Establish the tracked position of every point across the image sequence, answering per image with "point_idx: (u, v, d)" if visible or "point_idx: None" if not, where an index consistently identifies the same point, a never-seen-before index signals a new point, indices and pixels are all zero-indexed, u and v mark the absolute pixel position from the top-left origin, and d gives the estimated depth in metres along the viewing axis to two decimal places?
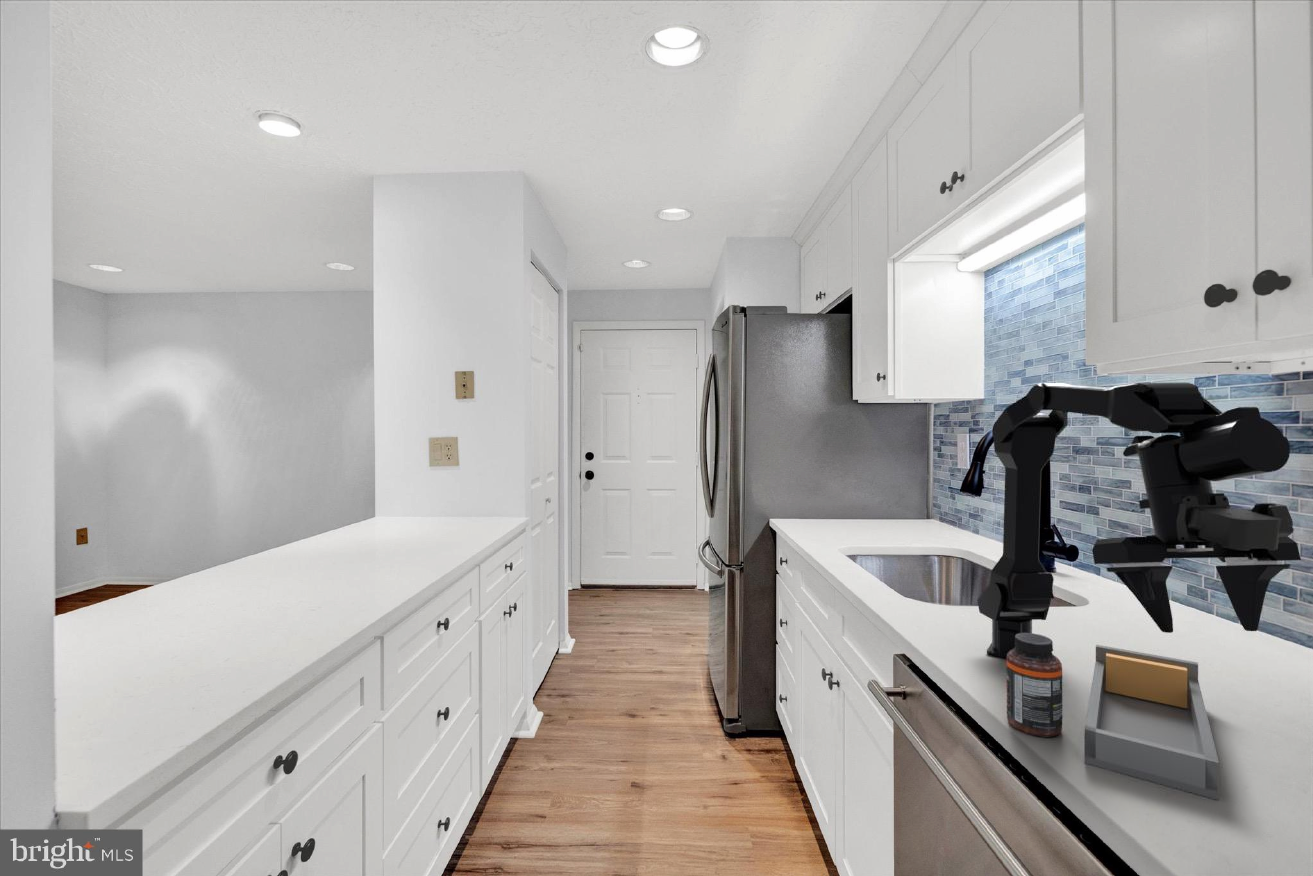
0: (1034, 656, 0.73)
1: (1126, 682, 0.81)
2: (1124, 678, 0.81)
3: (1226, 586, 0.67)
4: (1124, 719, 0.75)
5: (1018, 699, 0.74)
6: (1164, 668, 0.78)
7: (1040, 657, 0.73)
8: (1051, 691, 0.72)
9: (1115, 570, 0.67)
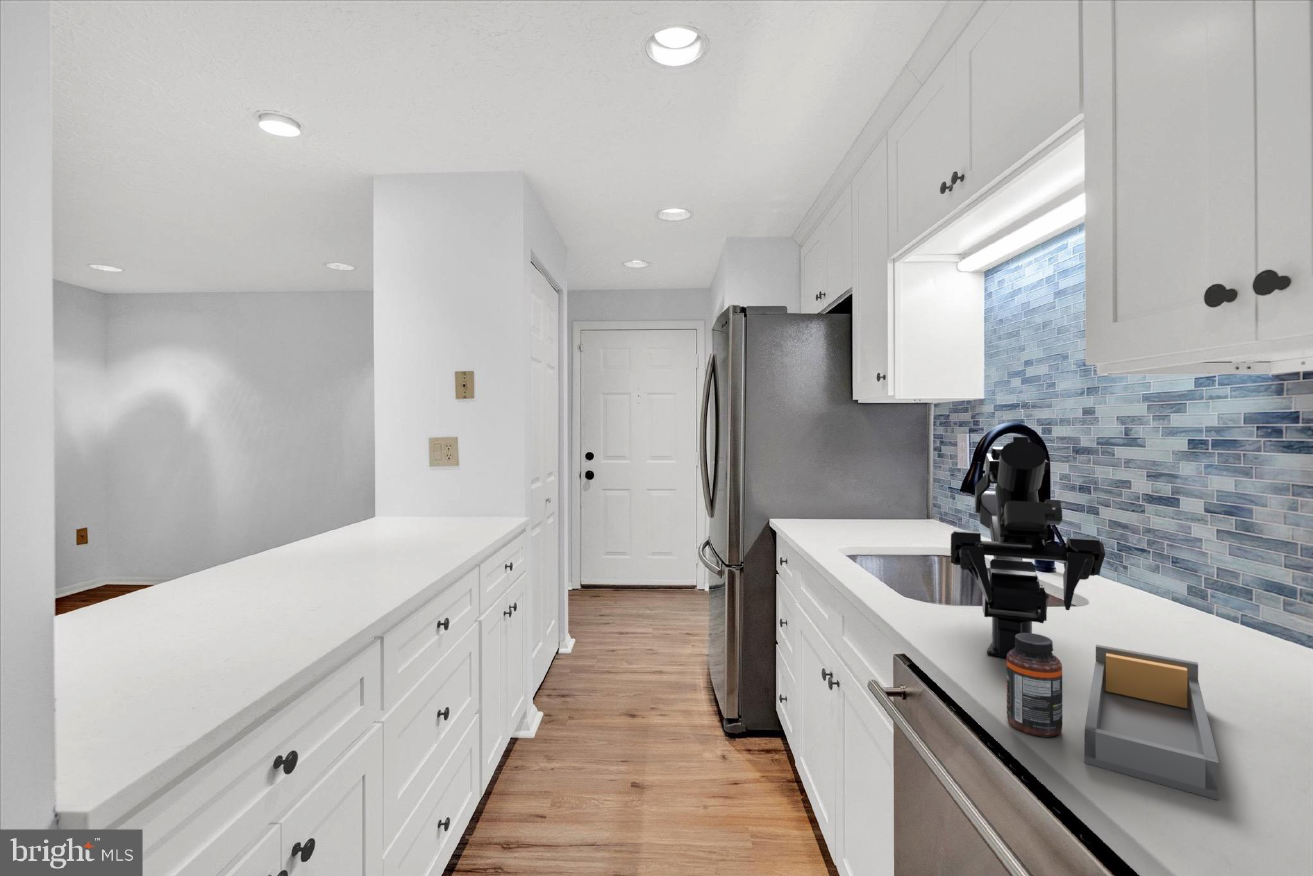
0: (1034, 656, 0.73)
1: (1126, 682, 0.81)
2: (1124, 678, 0.81)
3: (1063, 585, 0.84)
4: (1124, 719, 0.75)
5: (1018, 699, 0.74)
6: (1164, 668, 0.78)
7: (1040, 657, 0.73)
8: (1051, 691, 0.72)
9: (960, 563, 0.90)
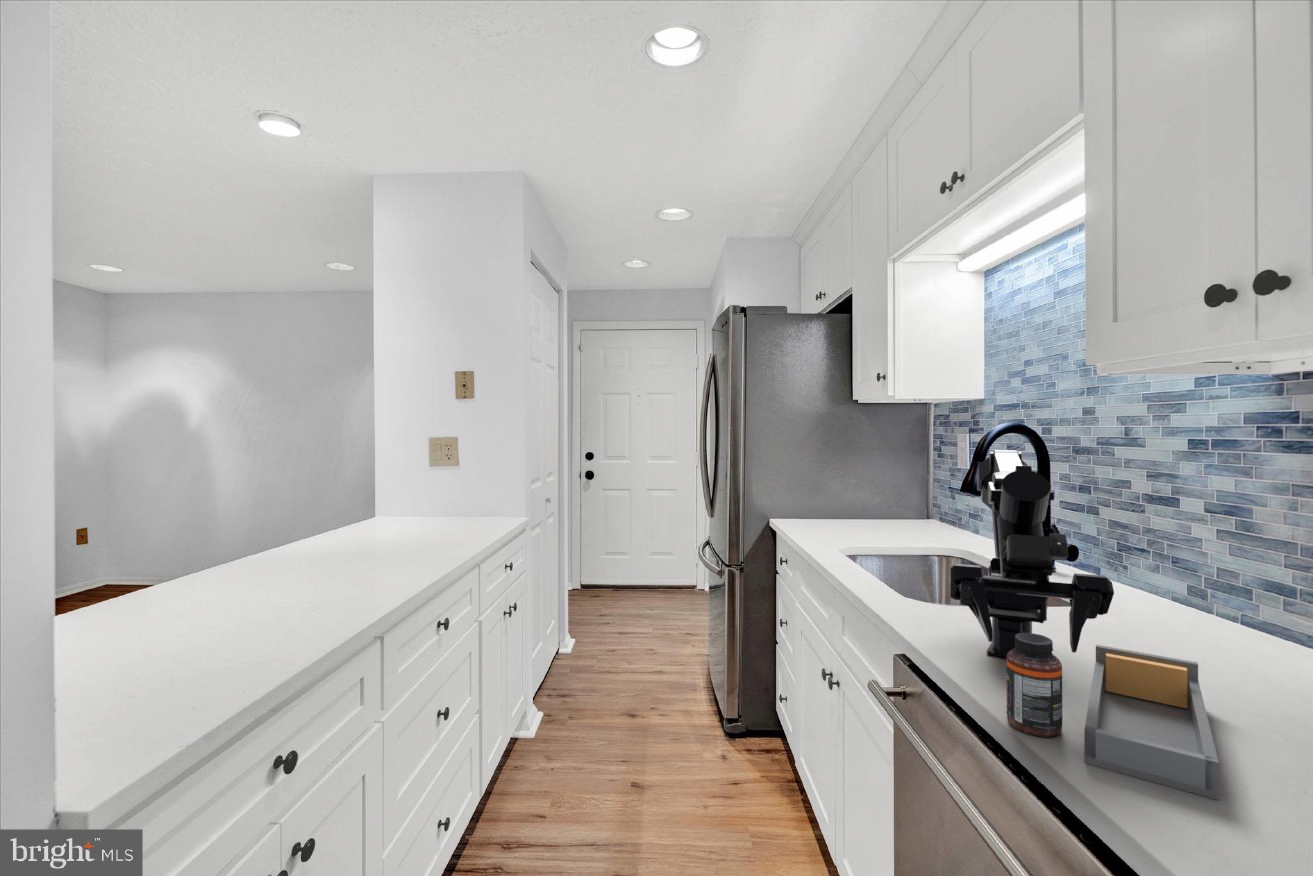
0: (1034, 656, 0.73)
1: (1126, 682, 0.81)
2: (1124, 678, 0.81)
3: None
4: (1124, 719, 0.75)
5: (1018, 699, 0.74)
6: (1164, 668, 0.78)
7: (1040, 657, 0.73)
8: (1051, 691, 0.72)
9: (960, 598, 0.85)
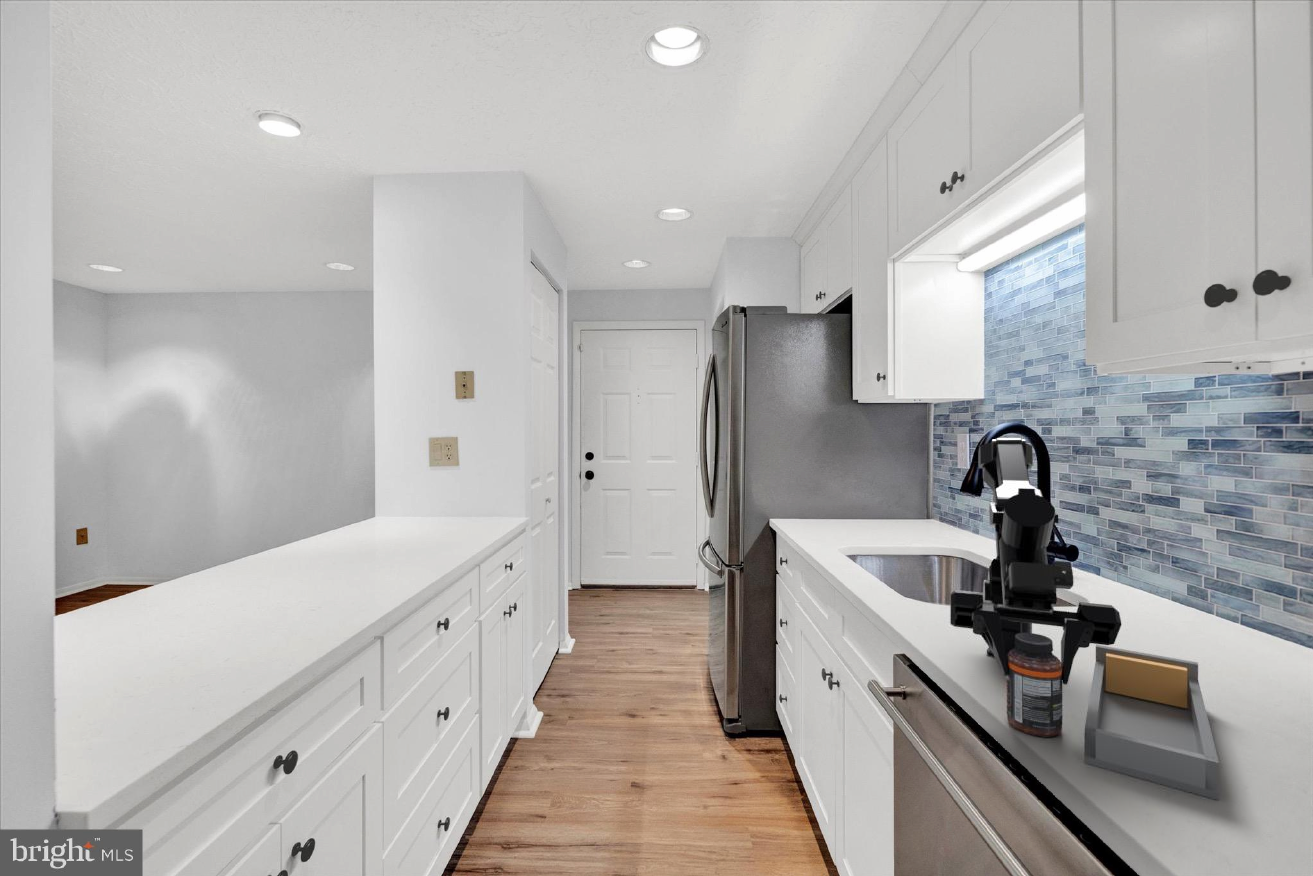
0: (1034, 656, 0.73)
1: (1126, 682, 0.81)
2: (1124, 678, 0.81)
3: (1061, 654, 0.76)
4: (1124, 719, 0.75)
5: (1018, 699, 0.74)
6: (1164, 668, 0.78)
7: (1040, 657, 0.73)
8: (1051, 691, 0.72)
9: (973, 627, 0.81)
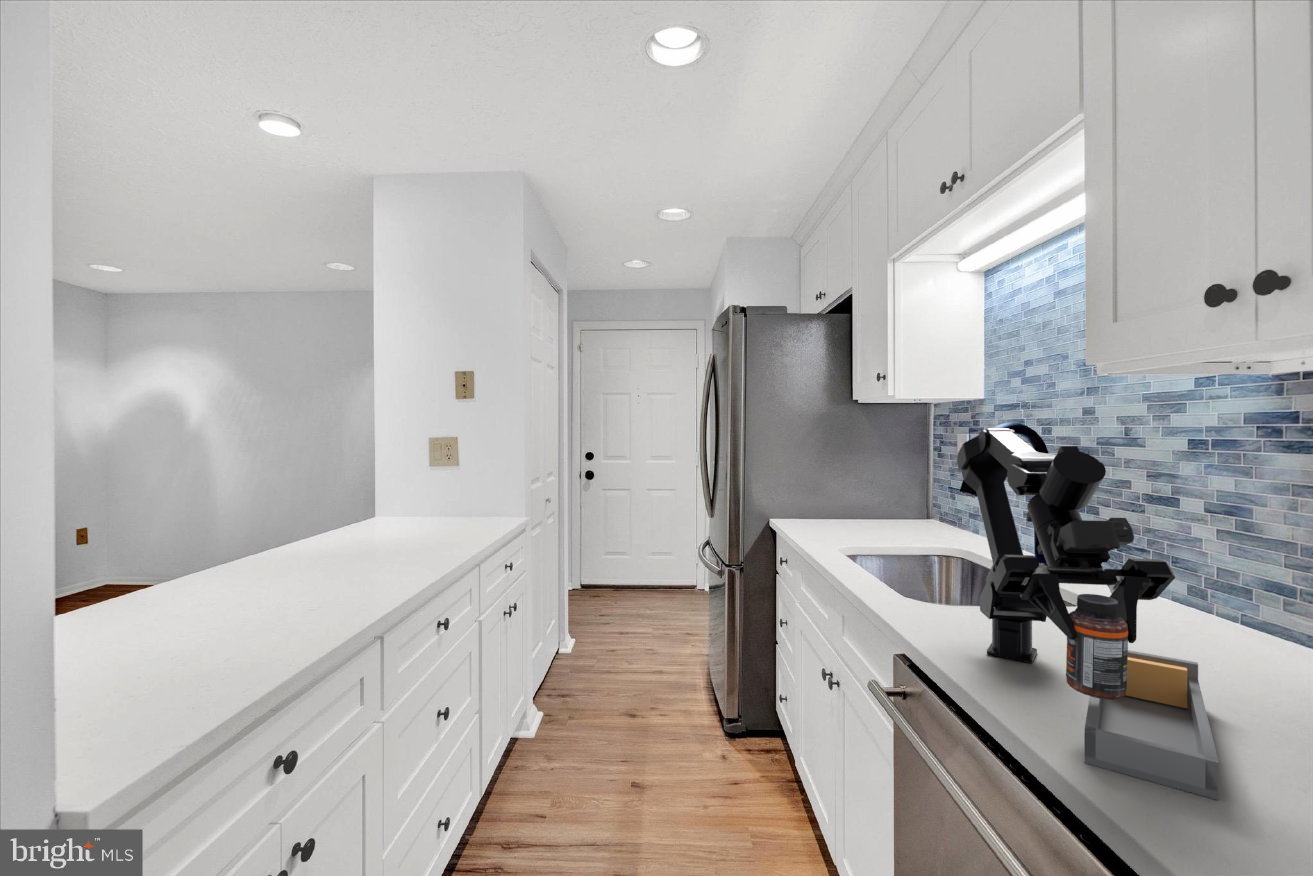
0: (1104, 617, 0.70)
1: None
2: None
3: None
4: (1124, 719, 0.75)
5: (1088, 663, 0.70)
6: (1164, 668, 0.78)
7: (1110, 617, 0.70)
8: (1122, 651, 0.69)
9: (1023, 592, 0.78)
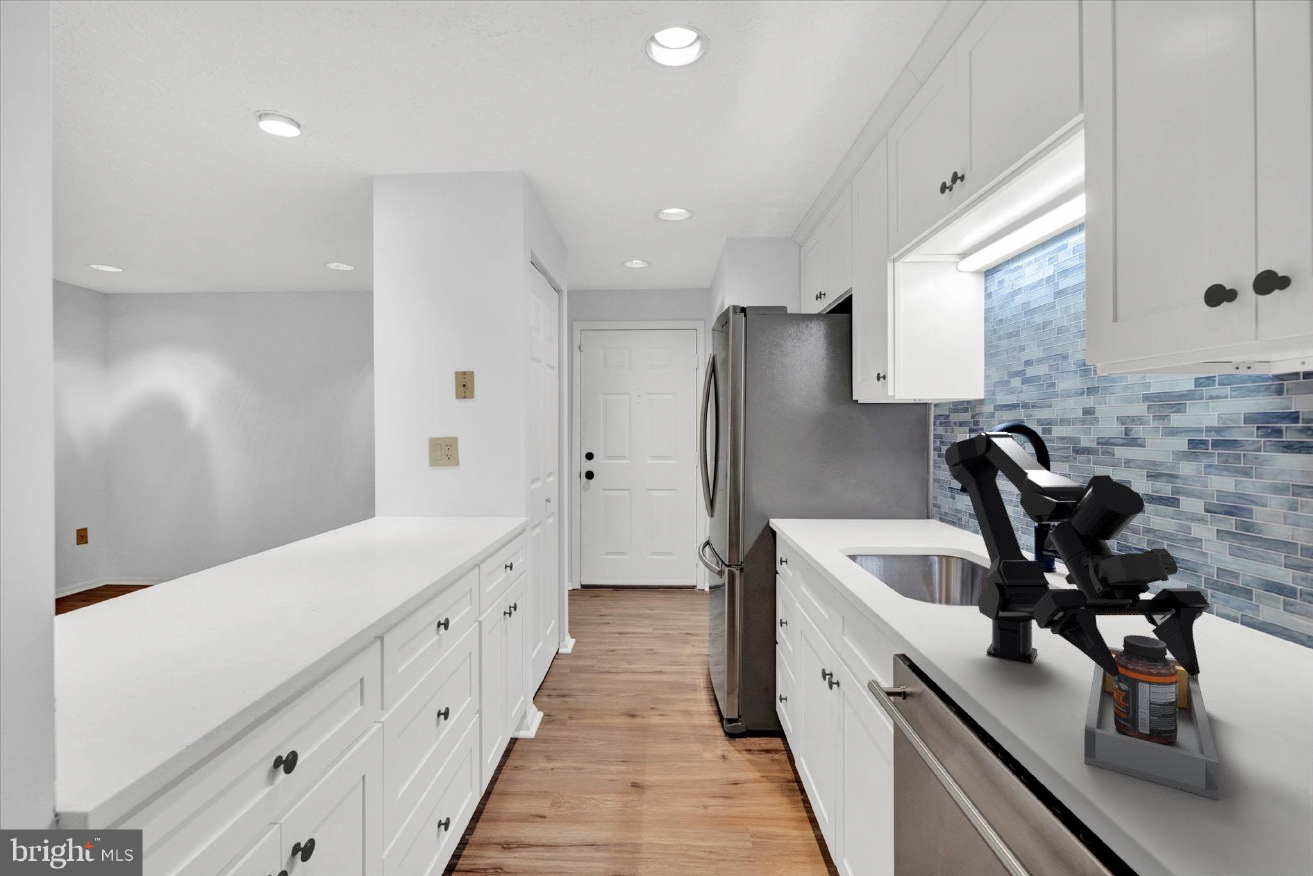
0: (1157, 660, 0.69)
1: None
2: None
3: None
4: None
5: (1144, 709, 0.69)
6: None
7: (1162, 661, 0.69)
8: (1175, 695, 0.69)
9: (1055, 627, 0.75)
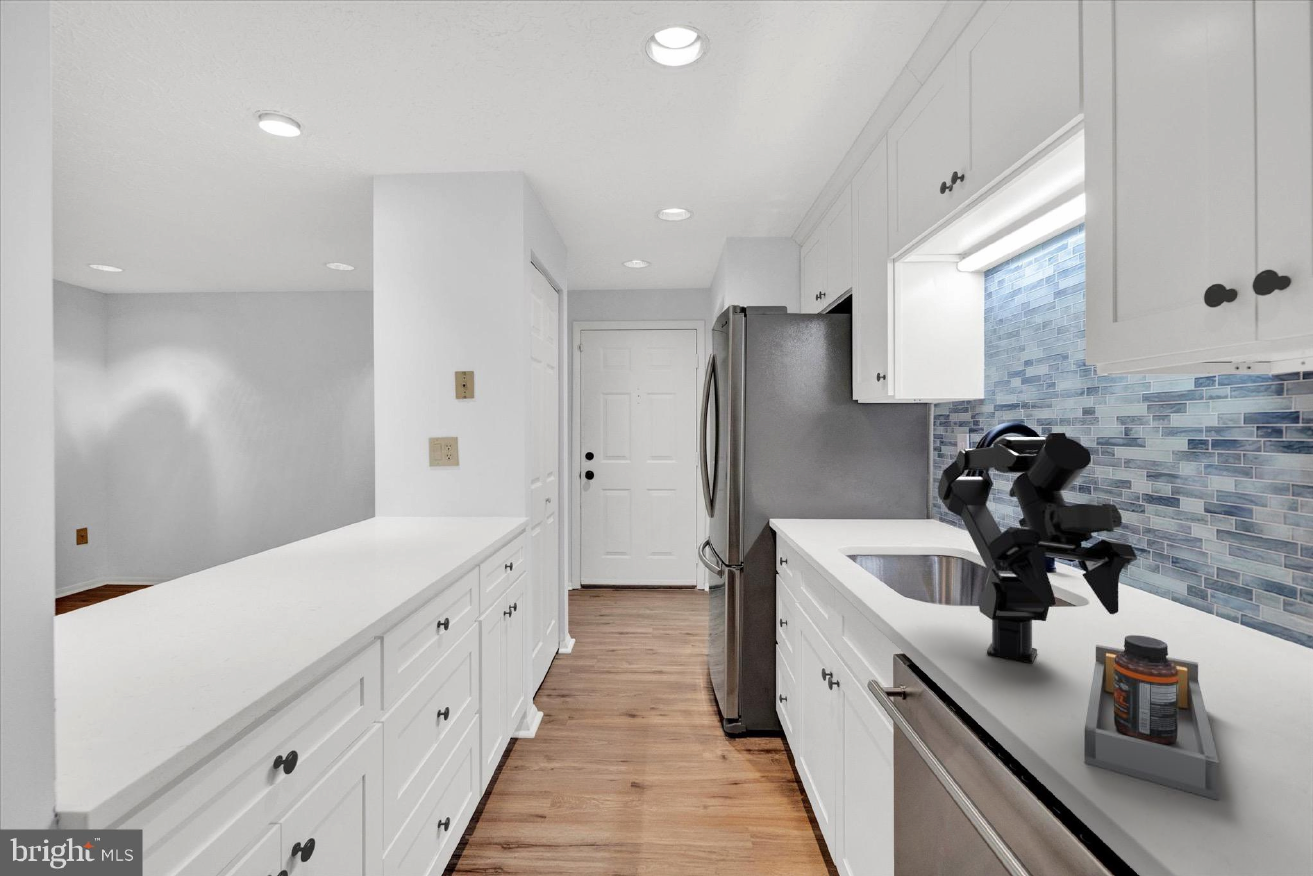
0: (1158, 661, 0.69)
1: None
2: None
3: (1091, 586, 0.84)
4: None
5: (1144, 709, 0.69)
6: None
7: (1163, 661, 0.69)
8: (1176, 695, 0.69)
9: (1007, 560, 0.84)
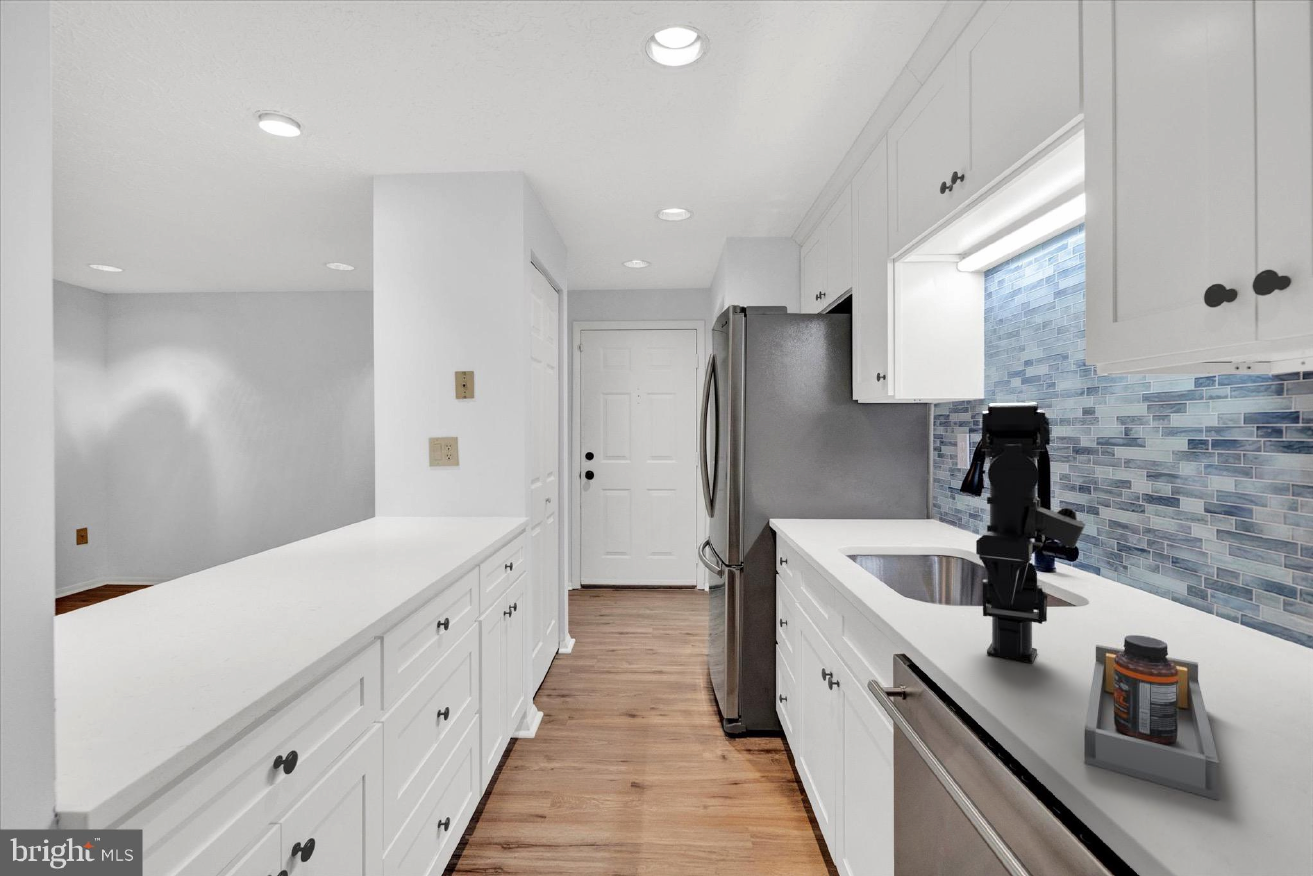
0: (1158, 660, 0.69)
1: None
2: None
3: None
4: None
5: (1144, 709, 0.69)
6: None
7: (1163, 661, 0.69)
8: (1176, 695, 0.69)
9: (992, 560, 0.81)
